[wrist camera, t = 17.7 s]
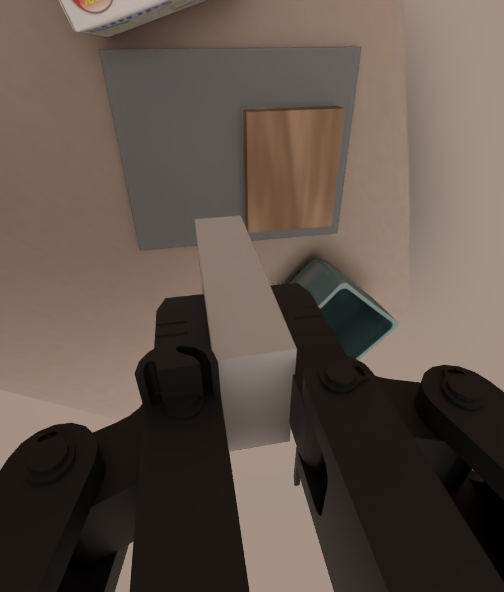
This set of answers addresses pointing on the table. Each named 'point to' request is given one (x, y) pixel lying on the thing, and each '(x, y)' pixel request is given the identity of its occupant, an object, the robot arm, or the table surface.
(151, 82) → the mat
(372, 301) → the flower pot
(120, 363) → the table surface
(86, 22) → the light bulb box
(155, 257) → the table surface
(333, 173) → the walnut tile
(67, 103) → the table surface
